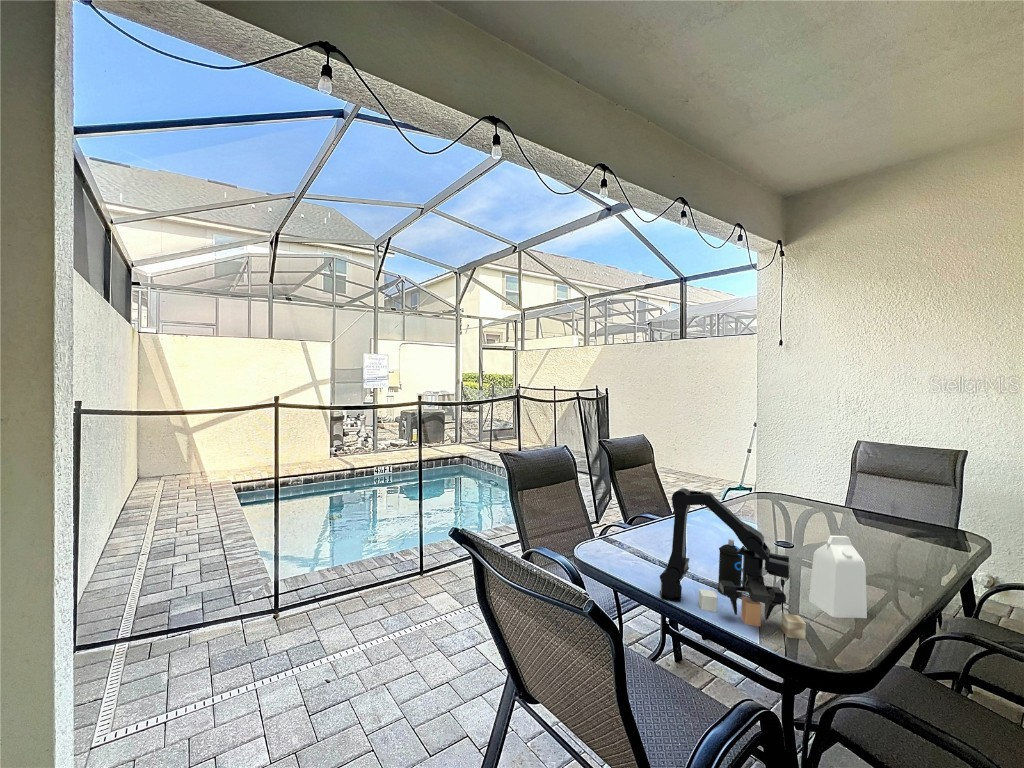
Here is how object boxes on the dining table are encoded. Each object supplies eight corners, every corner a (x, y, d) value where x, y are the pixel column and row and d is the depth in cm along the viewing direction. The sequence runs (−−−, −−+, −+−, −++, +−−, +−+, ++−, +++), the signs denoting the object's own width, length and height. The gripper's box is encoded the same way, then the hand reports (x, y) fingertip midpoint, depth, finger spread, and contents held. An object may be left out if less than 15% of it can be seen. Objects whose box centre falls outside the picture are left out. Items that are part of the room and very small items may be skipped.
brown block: (745, 624, 140) (746, 602, 140) (741, 617, 144) (741, 596, 144) (760, 626, 139) (761, 605, 139) (755, 619, 143) (756, 598, 143)
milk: (840, 601, 159) (842, 531, 159) (866, 618, 147) (869, 542, 148) (808, 600, 158) (811, 530, 159) (833, 617, 147) (835, 541, 147)
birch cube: (787, 637, 133) (787, 621, 133) (780, 628, 138) (781, 613, 138) (805, 640, 132) (805, 623, 132) (798, 631, 137) (798, 615, 137)
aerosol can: (715, 593, 161) (717, 540, 161) (719, 585, 168) (721, 534, 168) (740, 599, 157) (742, 545, 157) (742, 591, 163) (744, 539, 164)
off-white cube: (701, 609, 148) (702, 595, 148) (698, 603, 153) (698, 589, 153) (717, 612, 147) (717, 597, 147) (713, 605, 152) (713, 591, 152)
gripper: (729, 576, 136) (727, 625, 136) (794, 584, 132) (792, 635, 132) (719, 562, 147) (718, 608, 147) (780, 569, 143) (778, 616, 143)
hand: (750, 616), depth 142 cm, fingers open, 9 cm apart
